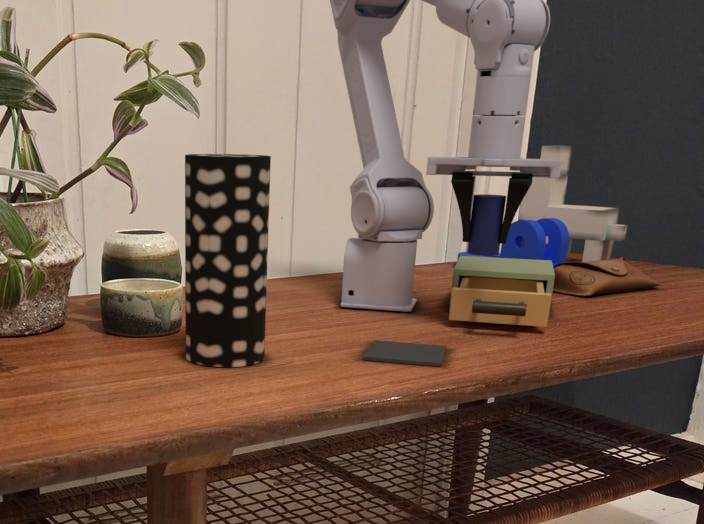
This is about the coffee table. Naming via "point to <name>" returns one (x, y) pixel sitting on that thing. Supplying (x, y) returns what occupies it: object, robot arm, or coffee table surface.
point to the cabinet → (504, 270)
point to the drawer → (500, 301)
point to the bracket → (534, 241)
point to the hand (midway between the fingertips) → (483, 241)
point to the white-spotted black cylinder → (226, 258)
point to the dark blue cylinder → (486, 224)
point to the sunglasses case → (599, 278)
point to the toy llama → (572, 211)
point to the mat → (406, 353)
